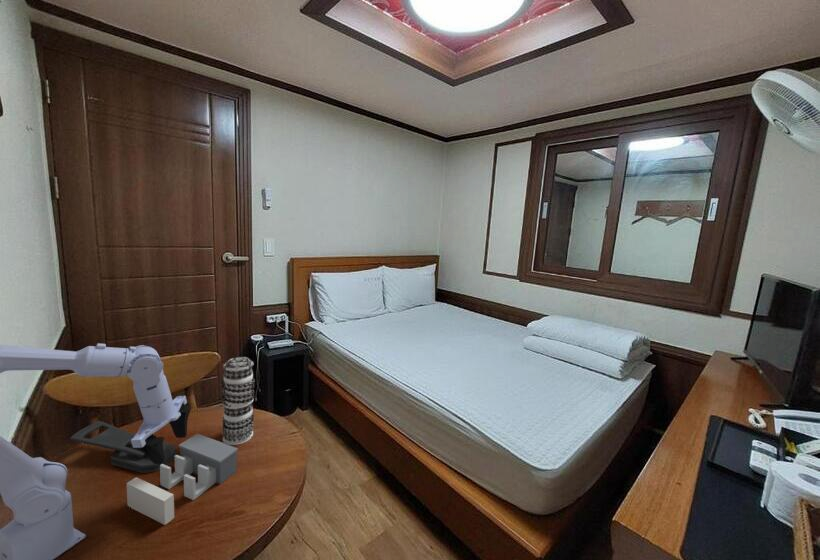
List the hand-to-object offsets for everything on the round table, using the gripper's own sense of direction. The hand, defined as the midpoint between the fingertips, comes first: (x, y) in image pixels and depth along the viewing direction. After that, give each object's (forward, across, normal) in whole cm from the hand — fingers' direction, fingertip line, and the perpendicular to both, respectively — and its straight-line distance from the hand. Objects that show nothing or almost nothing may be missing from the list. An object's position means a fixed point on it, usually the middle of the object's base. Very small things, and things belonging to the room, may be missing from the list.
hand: (171, 448), depth 77 cm
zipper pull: (+11, +10, +22) cm, 27 cm away
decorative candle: (+16, +21, -2) cm, 27 cm away
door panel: (+12, -6, +3) cm, 14 cm away
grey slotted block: (+13, +5, 0) cm, 14 cm away
